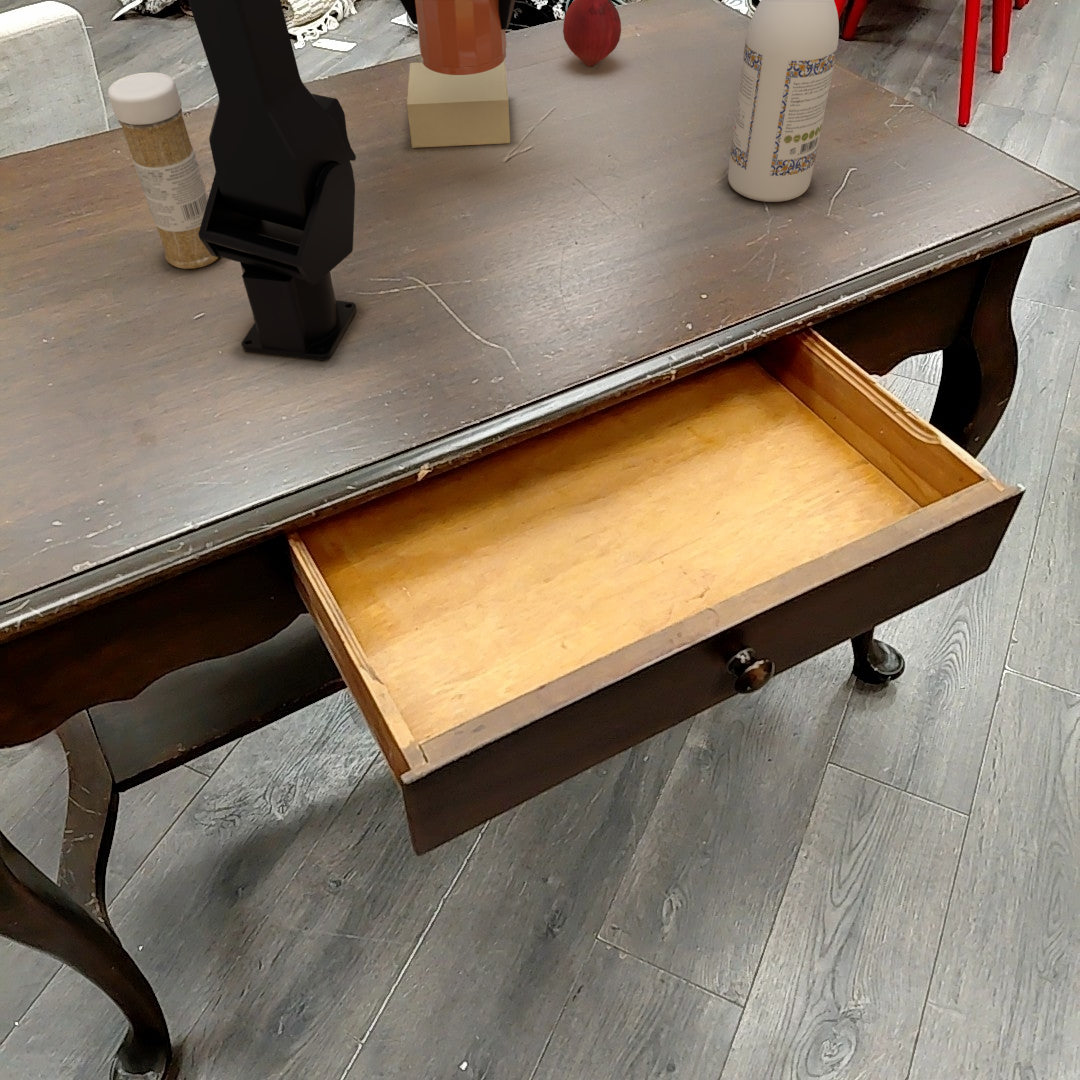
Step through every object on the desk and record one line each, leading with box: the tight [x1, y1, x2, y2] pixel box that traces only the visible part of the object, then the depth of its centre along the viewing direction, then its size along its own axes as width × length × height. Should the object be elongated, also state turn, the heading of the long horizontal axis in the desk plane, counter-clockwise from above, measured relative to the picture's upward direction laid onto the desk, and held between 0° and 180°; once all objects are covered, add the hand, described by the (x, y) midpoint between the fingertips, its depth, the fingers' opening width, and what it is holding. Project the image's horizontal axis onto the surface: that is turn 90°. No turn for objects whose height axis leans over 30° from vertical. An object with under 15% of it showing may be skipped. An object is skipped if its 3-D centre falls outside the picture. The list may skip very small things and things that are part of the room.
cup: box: [414, 0, 507, 75], centre depth 75 cm, size 7×7×8 cm
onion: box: [562, 0, 622, 68], centre depth 97 cm, size 6×6×8 cm
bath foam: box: [727, 0, 840, 203], centre depth 75 cm, size 7×7×20 cm
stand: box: [406, 59, 511, 149], centre depth 90 cm, size 9×9×4 cm
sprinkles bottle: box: [107, 71, 219, 270], centre depth 72 cm, size 5×5×14 cm
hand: (461, 25), depth 76 cm, fingers closed on cup, 7 cm apart
